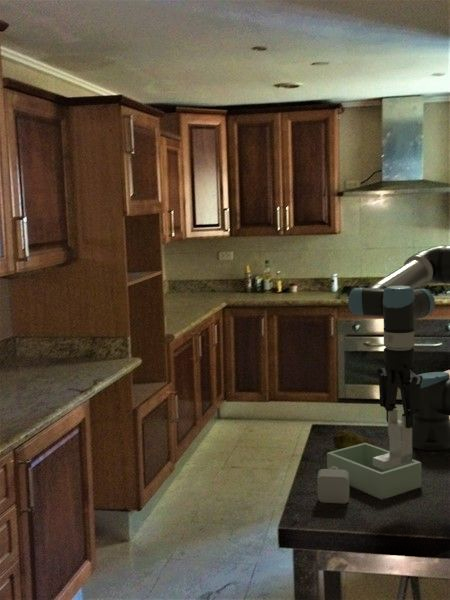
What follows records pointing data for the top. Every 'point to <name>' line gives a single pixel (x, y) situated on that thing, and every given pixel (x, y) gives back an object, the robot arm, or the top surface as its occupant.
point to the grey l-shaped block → (395, 448)
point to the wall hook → (333, 485)
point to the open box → (375, 471)
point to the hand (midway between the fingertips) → (399, 437)
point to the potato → (349, 439)
